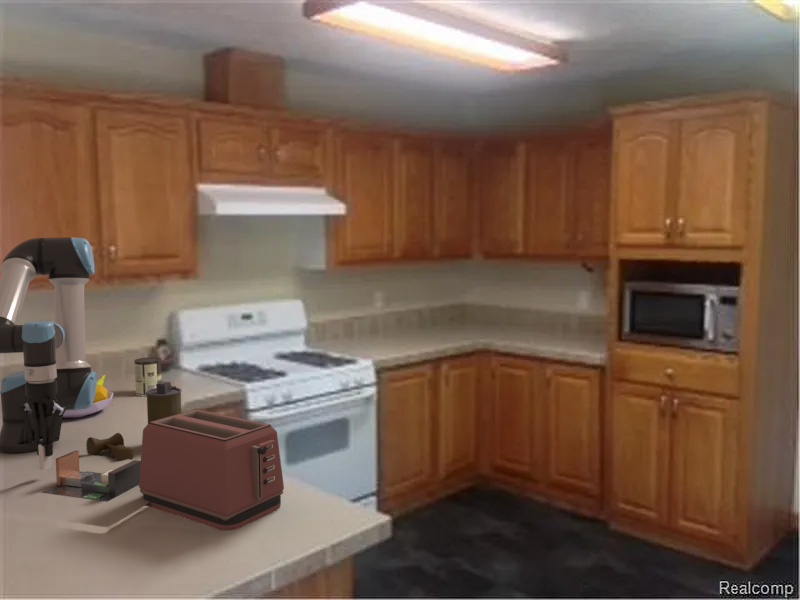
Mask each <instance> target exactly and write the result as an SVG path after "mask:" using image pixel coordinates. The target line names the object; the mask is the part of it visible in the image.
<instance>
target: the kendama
mask: <svg viewBox="0 0 800 600" xmlns="http://www.w3.org/2000/svg"><path fill="white" fill-rule="evenodd" d="M103 451H109V452H110V454H111V457H112V458H113V459H116V462H121V461H126V460H131V461H133V459H134V455H135V453H134V449H133V448H132V447H130V446H125V441H124V437H123V435H122V434H121V433H120V432H116V433H114V435H112V436H110V437H108V438H103V439H98V438H94V437H87V440H86V452H87V454H88V456H89V455H90V456H97V455H99V453H101V452H103Z"/></svg>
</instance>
